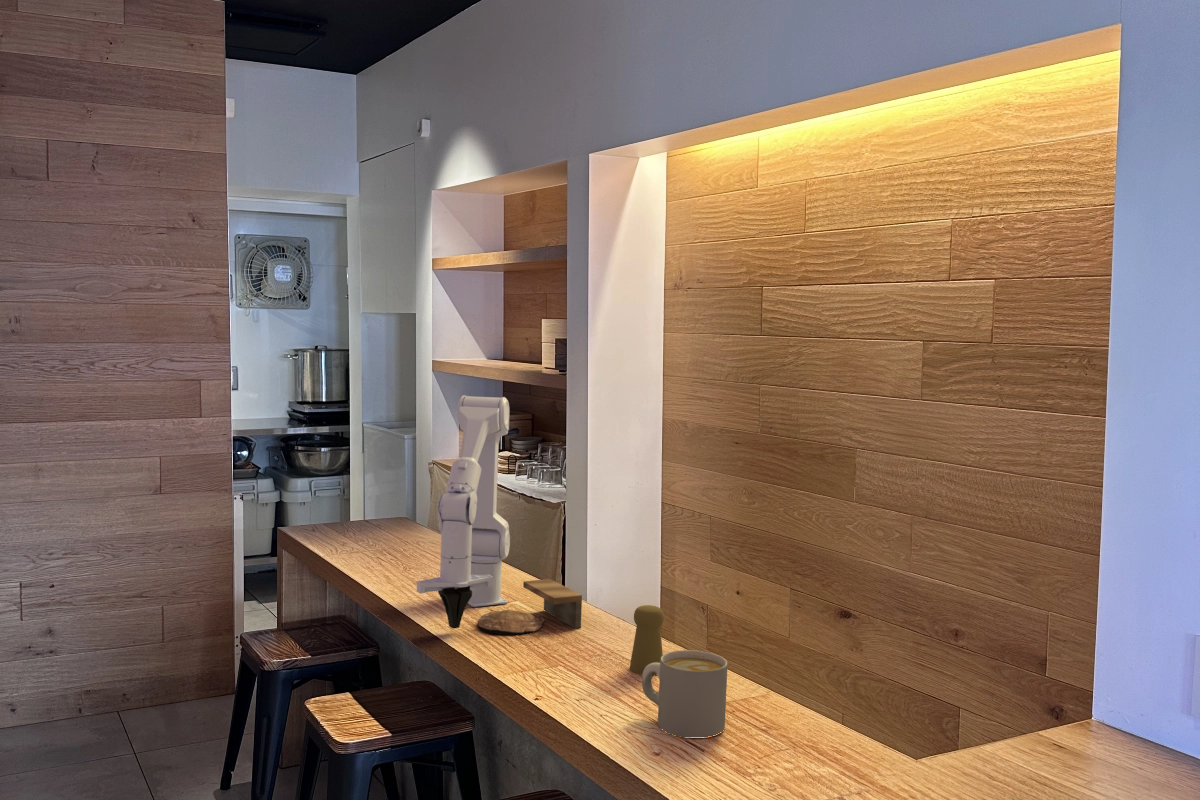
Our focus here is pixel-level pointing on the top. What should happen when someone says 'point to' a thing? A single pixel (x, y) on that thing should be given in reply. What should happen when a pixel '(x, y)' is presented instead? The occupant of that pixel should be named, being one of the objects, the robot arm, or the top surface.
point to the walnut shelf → (558, 600)
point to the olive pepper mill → (647, 638)
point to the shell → (509, 622)
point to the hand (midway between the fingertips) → (454, 626)
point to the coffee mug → (689, 692)
